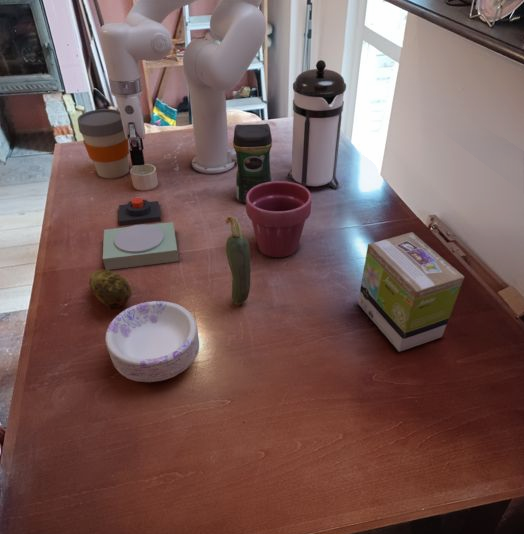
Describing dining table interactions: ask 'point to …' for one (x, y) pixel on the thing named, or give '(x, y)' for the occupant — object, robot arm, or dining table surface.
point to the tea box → (408, 290)
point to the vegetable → (238, 261)
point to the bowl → (144, 177)
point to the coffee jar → (252, 157)
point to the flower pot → (278, 215)
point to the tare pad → (139, 213)
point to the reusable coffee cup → (105, 141)
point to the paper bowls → (152, 341)
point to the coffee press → (316, 126)
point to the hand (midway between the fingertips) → (138, 157)
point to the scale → (139, 245)
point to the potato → (110, 288)
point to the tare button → (137, 203)
